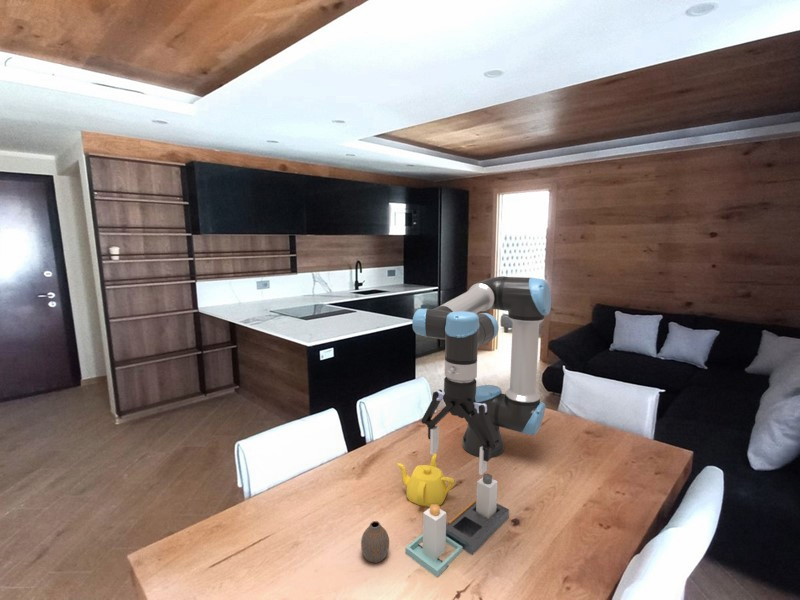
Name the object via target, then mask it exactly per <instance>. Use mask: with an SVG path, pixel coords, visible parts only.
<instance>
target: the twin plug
mask: <svg viewBox="0 0 800 600" xmlns="http://www.w3.org/2000/svg"><path fill="white" fill-rule="evenodd" d="M498 483H499V482H498V481H497V480H495V479H493V475H492V474H489V473H484V474H482V477H481V478H480V479H478V480H477V481H476V498H475V499H476V512H477V513H479V514H480V515H482V516H484V517H486V518H487V519H489V520H490V519H491V518H492V517H493V516H494V515H495V514H496V508H497V503H498Z"/></svg>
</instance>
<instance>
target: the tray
mask: <svg viewBox="0 0 800 600" xmlns="http://www.w3.org/2000/svg"><path fill="white" fill-rule="evenodd" d="M421 542H423V533H421V534H420V535H419V536H418V537H417V538H415V539H414V540H412V542H410V543H409V544H408V545H406V546H405V550H404V553H405V554H406V555H407V556H408V557H409V558H411V559H412V560H414V561H415V562H416V563H418V564H419V565H420V566H422V567H423V568H424V569H425V570H427V572H429V573H430V574H431V575H434V577H436V578H438V577H440V575H442V573H444V571H446V569H448V568H449V566H450V565H449V564H450V563H452V562H453V560H455V558H456V557H457V556H459V555H460V554H461V553H462V552H463V550H464V549H463V547H462V546H461V545H459V544H458V543H456V542H454V541H453V540H451V539H450V538H448V537H447V536H446V544H448V545H449V546H450V547H453V548H454V549H455V550H454V551H452V552H451V553H450V554H449V556H447V557H446V558H445V559H444V560H442V559H440V558H439V559H438V560H437V561H436V562H434V561H433V560H431V559H430V558H429V557H427V556H426V555H425V554H423V545H421V544H420V543H421Z"/></svg>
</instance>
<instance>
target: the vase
mask: <svg viewBox="0 0 800 600" xmlns="http://www.w3.org/2000/svg"><path fill="white" fill-rule="evenodd" d="M360 547H361V549H360V550H361V552H362V556H364V558H365V559H366V561H368V562H369V563H374V564H376V563H379V562H381V561H383V560H384V559H385V558H386V557H387V555H388V553H389V550H390V538H389V534H388V531H387V530H386V528H384V527H383V525H381V523H380V522H379V521H378V520H373V521H371V522H370V523H369V525H368V527H367V528H366V529H365V530H364V532H363V533H362V536H361V540H360Z"/></svg>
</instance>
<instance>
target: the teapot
mask: <svg viewBox="0 0 800 600" xmlns="http://www.w3.org/2000/svg"><path fill="white" fill-rule="evenodd" d="M396 465H397V466H398V467H399V468H400V471H401V479H402V480H401V481H402V484H403V485H404V486H405V488H406V491H405V492H406V497H407V499H408V501H409V502H411V503H413V504H415V505H418V506H420V507H426V508H430V505H431V504H438V505H439V506H440V507H441V505H442V504H443V503H444V501H445V499H446V498H447V495H448V493H449V491H450V490H452V489H453V487H454V486H455V479H454V478H453V477H450V476H445V475H444V473H443V471H442V469H441V468H438V467H437V452H436V453H434V454H433V455H432V456H431V460H430V463H429V464H420V465H417V466H416V467H415V468H414V469H413V471H412V473H411V475H410V476H409V475H408V473H407V467H406V466H405V465H404V464H402V463H400V462H396ZM447 482H448V484H447Z"/></svg>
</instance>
